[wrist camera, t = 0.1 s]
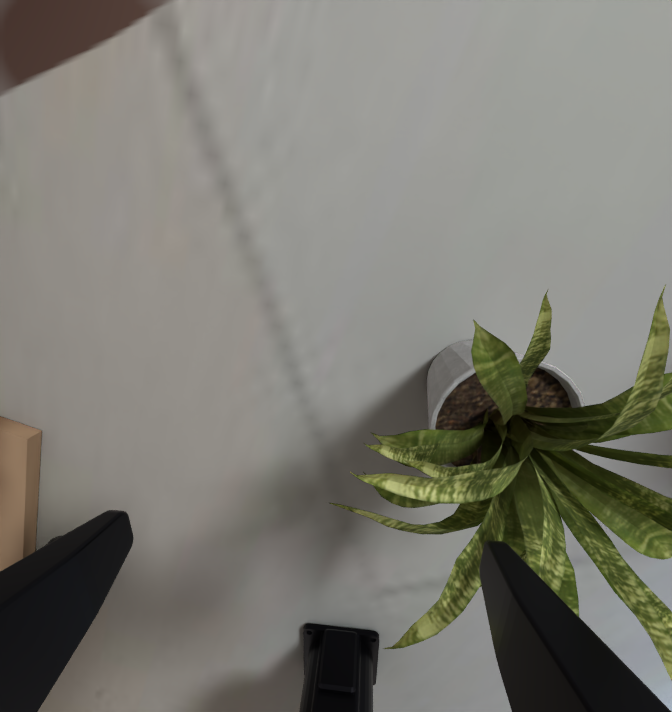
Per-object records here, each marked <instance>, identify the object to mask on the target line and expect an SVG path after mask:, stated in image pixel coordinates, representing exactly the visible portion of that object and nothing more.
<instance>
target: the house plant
mask: <svg viewBox="0 0 672 712" xmlns="http://www.w3.org/2000/svg"><path fill="white" fill-rule="evenodd" d="M665 286H666V285H665ZM548 289H549V288H548ZM664 289H665V287H664ZM664 289H663V291H662V293H661V295H660V298H659V300H658V303H657V306H656V309H655V312H654V316H653V321H652V325H651V329H650V333H649V338H648V341H647V344H646V347H645V351H644V354H643V357H642V360H641V364H640V367H639V371H638V375H637V378H636V382H635V385H634V386H633V387H631V388H630V389H628V390H626V391H625V392H623V393H621V394H620V395H618V396H616V397H614V398H612V399H610V400H608V401H606V402H604V403H602V404H596V405H590V406H585V403H584V400H583V397H582V393H581V392H580V390H579V389H578V388H577V386H576V385H575V383H574V382H573V380H572V379H571V378H570V377H569V376H567V375H566V374H565V373H563V372H562V371H561V370H559V369H558V368H557V367H555V366H552V365H550V364H547V363H544V362H542V361H543V359H544V358H545V356H546V355H547V353H548V352H549V350H550V343H551V333H550V328H551V319H552V317H551V307H550V304H549V301H548V298H547V295H546V294H547V292H548V290H547V292H546V294H545V296H544V299H543V302H542V306H541V310H540V313H539V317H538V320H537V323H536V327H535V331H534V334H533V337H532V339H531V342H530V344H529V347H528V349H527V351H526V354H525V355H522V354H519V353H516V352H513V351H512V350H511V349H510V348H509V347H508V346H507V345H506V344H505V343H504V342H503V341H501V340H500V339H498V338H497V337H495V336H494V335H492V334H491V333H489V332H488V331H486V330H485V329H483V328H482V327H480V326H479V325H478V324H477V323H476V322H475V321H474V320H473V321H474V325H475V334H474V339H473V340H467V341H460V342H458V343H455V344H453V345H450V346H448V347H447V348H446V349H444V350H443V351H441V352H440V353H439V354H438V356H437V357H436V358H435V359H434V360H433V362H432V364H431V366H430V368H429V370H428V376H427V398H428V423H429V429H424V430H417V431H410V432H406V433H402V434H398V435H389V436H378V435H376V434H374V433H372V434H373V435H374V436H375V437H376V438H377V439H378V440H379V442H380V443H381V444H380V445H366V444H365V445H366V446H367V447H369V448H370V449H372V450H374V451H376V452H378V453H380V454H382V455H383V456H385V457H387V458H390V459H392V460H395V461H397V462H399V463H401V464H403V465H405V466H409V467H413V468H416V469H418V470H420V471H422V472H423V473H425V474H427V475H428V476H430V477H432V478H424V477H416V476H408V475H400V474H392V473H384V474H371V475H366V474H365V473H364V474H365V475H356V474H353V473H352V474H353V475H354V476H355V477H357V478H358V479H360V480H362V481H364V482H366V483H369V484H371V485H373V486H374V488H375V489H376V490H377V491H378V493H379V494H380V495H381V497H383V498H385V499H386V500H388V501H389V502H391V503H393V504H396V505H399V506H401V507H409V508H417V507H424V506H430V505H435V504H439V503H458V504H460V505H459V507H458V508H457V510H456V511H455V513H454V514H453V515H451V516H449V517H448V518H446V519H444V520H442V521H440V522H436V523H431V524H426V525H413V524H409V523H405V522H402V521H398V520H395V519H391V518H388V517H385V516H382V515H378V514H375V513H371V512H368V511H364V510H360V509H357V508H352V507H348V506H344V505H340V504H334V503H330V504H333V505H336V506H339V507H341V508H344V509H347V510H350V511H352V512H355V513H358V514H361V515H363V516H366V517H369V518H371V519H373V520H375V521H377V522H379V523H381V524H383V525H385V526H388V527H391V528H395V529H398V530H402V531H407V532H413V533H418V534H445V533H449V532H454V531H459V530H463V529H467V528H471V527H475V526H478V525H479V524H480V523H482V524H481V525H480V527H479V528H478V530H477V531H476V533H475V535H474V536H473V538H472V539H471V541H470V542H469V543H468V545H467V546H466V547H465V549H464V550H463V551H462V553H461V554H460V555H459V557H458V558H457V559H456V562H455V564H454V567H453V569H452V572H451V574H450V577H449V579H448V582H447V584H446V586H445V588H444V590H443V592H442V594H441V596H440V598H439V600H438V601H437V602H436V603H435V604H434V605H433V606H432V607H431V608H430V609H429V611H428V612H427V613H426V614H425V615H423V616H422V617H421V618H420V619H419V620H418V621H417V622H415V623H414V624H413V625H412V626H411V627H410V628H409V630H408V631H407V632H406V633H405V634H404V636H403V637H402V638H401V639H400V640H399V641H398V642H397V643H396V644H395V645H394V646H392V647H388V648H383V649H396V648H404V647H407V646H410V645H413V644H416V643H418V642H421V641H424V640H426V639H428V638H430V637H432V636H434V635H437V634H438V633H439V632H440V631H442V630H443V629H444V628H445V627H446V626H448V625H449V624H450V623H451V622H452V621H453V620H455V619H456V618H457V617H458V616H459V615H460V614H461V613H462V612H463V611H464V609H465V608H466V606H467V605H468V603H469V602H470V600H471V599H472V597H473V596H474V595H475V593H476V591H477V590H478V588H479V587H481V586H482V585H481V580H480V572H479V568H480V562H481V557H482V552H483V547H484V543H485V542H486V541H487V540H494V541H503V542H505V543H507V544H508V545H509V546H510V547H511V548H512V549H513V550H514V551H515V552H516V553H517V554H518V555H519V556H520V557H521V558H522V559H523V560H524V561H525V562H526V563H527V564H528V565H529V566H530V567H531V568H532V570H533V571H534V572H535V573H536V574H537V575H538V576H539V577H540V578H541V579H542V580H543V581H544V582H545V583H546V584H547V585H548V586H549V587H550V588H551V589H552V590H553V591H554V592H555V593H556V594H557V595H558V596H559V597H560V598H561V599H562V600H563V601H564V602H565V603H566V604H567V605H568V606H569V607H570V608H571V609H572V610H573V611H574V613H575V614H576V615H577V616H578V617H579V605H578V594H577V587H576V580H575V573H574V569H573V567H572V564H571V562H570V560H569V558H568V555H567V553H566V544H565V535H564V528H563V524H562V520H561V517H562V519H563V520H564V522H565V523H566V525H567V526H568V528H569V529H570V531H571V532H572V534H573V535H574V537H575V538H576V539H577V541H578V542H579V543H580V545H581V546H582V547H583V549H584V550H585V551H586V553H587V554H588V555H589V557H590V558H591V559H592V561H593V562H594V563H595V565H596V566H597V567H598V569H599V570H600V572H601V573H602V575H603V576H604V578H605V579H606V580H607V582H608V583H609V585H610V586H611V588H612V589H613V591H614V592H615V593H616V594H617V595H618V596H619V597H620V599H621V600H622V601H623V602H624V603H625V604H626V605H627V607H628V608H629V609H630V610H631V611H632V612H633V613H634V614H635V616H636V617H637V618H638V620H639V621H640V623H641V624H642V626H643V627H644V629H645V630H646V631H647V633H648V634H649V636H650V638H651V640H652V641H653V643H654V645H655V647H656V649H657V651H658V653H659V655H660V657H661V659H662V661H663V663H664V665H665V667H666V670H667V672H668V674H669V676H670V678H671V680H672V612H671V611H670V609H669V608H668V607H667V606H666V605H665V604H664V603H663V602H662V601H661V600H660V599H659V598H658V597H657V596H656V595H655V594H654V593H653V592H652V591H651V590H650V589H649V588H648V587H647V586H646V585H645V584H644V582H643V581H642V580H641V579H640V578H639V577H638V576H637V575H636V574H635V572H634V571H633V570H632V569H631V568H630V566H629V565H628V564H627V563H626V562H625V560H624V559H623V558H622V557H621V555H620V554H619V552H618V550H617V549H616V547H615V546H614V544H613V543H612V541H611V540H610V538H609V537H608V536H607V534H606V533H605V532H604V530H603V529H602V528H601V526H600V525H599V524H598V522H597V521H596V520H595V518H594V517H593V516H592V514H593V515H594V516H595V517H597V518H598V519H599V520H600V521H601V522H602V523H603V524H605V525H606V526H607V527H608V528H609V529H610V530H611V531H613V532H614V533H615V534H616V535H617V536H618V537H620V538H621V539H622V540H623V541H624V542H625V543H627V544H628V545H629V546H631V547H632V548H633V549H635V550H636V551H637V552H639V553H641V554H643V555H646V556H648V557H651V558H657V559H668V558H671V557H672V499H671V498H668V497H666V496H663V495H661V494H659V493H657V492H655V491H653V490H651V489H649V488H646V487H644V486H642V485H640V484H638V483H636V482H634V481H631V480H629V479H627V478H625V477H622V476H620V475H618V474H616V473H613V472H611V471H609V470H606V469H604V468H602V467H600V466H597V465H595V464H593V463H591V462H589V461H588V460H587V459H585V458H584V457H582V456H581V455H579V454H578V453H576V452H577V450H579V451H582V452H586V453H589V454H593V455H597V456H601V457H606V458H610V459H615V460H620V461H626V462H631V463H636V464H642V465H650V466H657V467H665V468H672V456H669V455H657V454H649V453H641V452H633V451H625V450H618V449H611V448H605V447H598V446H593V445H588V444H590V443H601V442H605V441H610V440H615V439H619V438H623V437H626V436H630V435H636V434H646V433H655V432H660V431H666V430H671V429H672V373H667V374H664V371H665V366H666V360H667V355H668V349H669V334H670V328H669V324H668V320H667V317H666V313H665V309H664V305H663V299H662V296H663V292H664ZM350 473H351V472H350ZM591 513H592V514H591ZM560 515H561V516H560Z"/></svg>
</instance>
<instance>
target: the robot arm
mask: <svg viewBox="0 0 672 712" xmlns="http://www.w3.org/2000/svg"><path fill="white" fill-rule="evenodd" d="M132 543H133V533H132V528H131V524H130V520H129V516H128V514H127V513H126V512H125V511H118V510H109V511H106V512H104V513H102V514H101V515H99V516H97V517H95V518H93V519H92V520H90V521H88V522H86V523H85V524H83V525H81V526H79V527H78V528H76V529H74V530H72V531H71V532H69V533H67V534H65V535H64V536H62V537H60V538H58V539H56V540H55V541H53V542H51V543H49V544H48V545H46V546H44V547H42V548H41V549H39V550H37V551H35V552H34V553H32V554H30V555H28V556H26V557H25V558H23V559H21V560H19V561H18V562H16V563H14V564H12V565H11V566H9V567H7V568H5V569H4V570H2V571H0V712H38V710H39V708H40V707H41V705H42V703H43V702H44V700H45V699H46V697H47V695H48V694H49V692H50V690H51V689H52V687H53V686H54V684H55V682H56V681H57V679H58V677H59V676H60V674H61V673H62V671H63V669H64V668H65V666H66V664H67V663H68V661H69V660H70V658H71V656H72V655H73V653H74V651H75V650H76V648H77V647H78V645H79V643H80V642H81V640H82V638H83V637H84V635H85V633H86V632H87V630H88V629H89V627H90V625H91V624H92V622H93V620H94V618H95V617H96V615H97V613H98V611H99V609H100V608H101V606H102V604H103V602H104V600H105V598H106V596H107V594H108V592H109V590H110V588H111V586H112V584H113V582H114V580H115V578H116V576H117V574H118V572H119V570H120V569H121V567H122V565H123V563H124V561H125V559H126V557H127V555H128V553H129V551H130V549H131V546H132ZM479 572H480V580H481V585H482V590H483V595H484V600H485V605H486V610H487V615H488V620H489V625H490V630H491V635H492V640H493V645H494V649H495V654H496V658H497V662H498V666H499V669H500V673H501V676H502V680H503V683H504V686H505V690H506V693H507V696H508V700H509V703H510V706H511V710H512V712H671V711H670V710H669V709H668V708H667V707H666V706H665V705H664V704H663V703H662V702H661V701H660V700H659V699H658V698H657V696H656V695H655V694H654V693H653V692H652V691H651V690H650V689H649V688H648V687H647V686H646V685H645V684H644V683H643V682H642V681H641V680H640V679H639V678H638V677H637V676H636V675H635V674H634V673H633V672H632V671H631V670H630V669H629V668H628V667H627V666H626V665H625V664H624V663H623V662H622V661H621V660H620V659H619V658H618V657H617V656H616V655H615V653H614V652H613V651H612V650H611V649H610V648H609V647H608V646H607V645H606V644H605V643H604V642H603V641H602V640H601V639H600V638H599V637H598V636H597V635H596V634H595V633H594V632H593V631H592V630H591V629H590V628H589V627H588V626H587V625H586V624H585V623H584V622H583V621H582V620H581V619H580V618H579V617H578V616H577V615H576V614H575V613H574V611H573V610H572V609H571V608H570V607H569V606H568V605H567V604H566V603H565V602H564V601H563V600H562V599H561V598H560V597H559V596H558V595H557V594H556V593H555V592H554V591H553V590H552V589H551V588H550V587H549V586H548V585H547V584H546V583H545V582H544V581H543V580H542V579H541V578H540V577H539V576H538V575H537V574H536V573H535V572H534V571H533V570H532V568H531V567H530V566H529V565H528V564H527V563H526V562H525V561H524V560H523V559H522V558H521V557H520V556H519V555H518V554H517V553H516V552H515V551H514V550H513V549H512V548H511V547H510V546H509V545H508V544H507V543H505V542H503V541H494V540H487V541H486V542H485V543H484V547H483V552H482V557H481V562H480V568H479ZM303 634H304V674H305V678H304V685H303V691H302V698H301V704H300V711H299V712H373V685H375V684H376V674H377V662H378V650H379V634H378V633H377V632H375V631H369V630H360V629H351V628H342V627H333V626H325V625H316V624H306V625H305V626H304V632H303Z"/></svg>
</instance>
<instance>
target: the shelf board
mask: <svg viewBox="0 0 672 712" xmlns="http://www.w3.org/2000/svg"><path fill="white" fill-rule="evenodd" d="M41 437H42V431H41V430H38V429H35V428H32V427H30V426H27V425H24V424H21V423H18V422H15V421H12V420H10V419H7V418H4V417H1V416H0V571H2V570H4V569H5V568H7V567H9V566H11V565H12V564H14V563H16V562H18V561H19V560H21V559H23V558H25V557H26V556H28V555H30V554H32V553H34V552H35V548H36V530H37V511H38V493H39V474H40V455H41Z"/></svg>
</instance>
